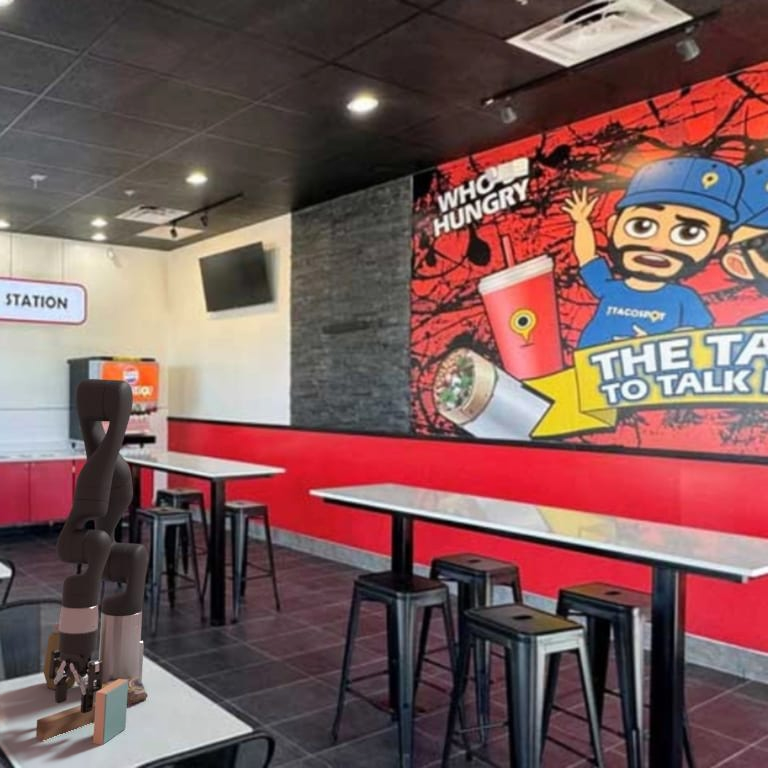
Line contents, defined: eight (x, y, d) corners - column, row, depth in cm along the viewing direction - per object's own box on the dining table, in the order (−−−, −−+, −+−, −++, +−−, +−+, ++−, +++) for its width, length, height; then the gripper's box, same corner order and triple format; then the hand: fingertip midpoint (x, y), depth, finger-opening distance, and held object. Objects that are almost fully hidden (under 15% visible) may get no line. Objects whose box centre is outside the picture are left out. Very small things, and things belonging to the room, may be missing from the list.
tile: (93, 743, 152) (96, 692, 152) (116, 727, 160) (118, 678, 160) (103, 745, 151) (106, 693, 152) (125, 729, 159) (128, 680, 159)
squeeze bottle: (43, 681, 183) (47, 604, 184) (79, 678, 186) (84, 603, 187) (41, 693, 176) (45, 613, 176) (79, 690, 179) (83, 612, 179)
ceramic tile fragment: (89, 688, 172) (109, 672, 182) (88, 703, 172) (108, 686, 182) (141, 693, 171) (158, 677, 181) (140, 708, 171) (157, 691, 181)
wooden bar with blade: (49, 744, 151) (50, 725, 151) (30, 735, 154) (32, 717, 154) (124, 715, 166) (125, 698, 166) (106, 708, 169) (107, 692, 169)
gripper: (116, 629, 158) (110, 710, 158) (73, 617, 166) (68, 694, 165) (84, 637, 152) (78, 721, 151) (41, 624, 160) (35, 703, 159)
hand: (73, 706), depth 158 cm, fingers open, 8 cm apart
